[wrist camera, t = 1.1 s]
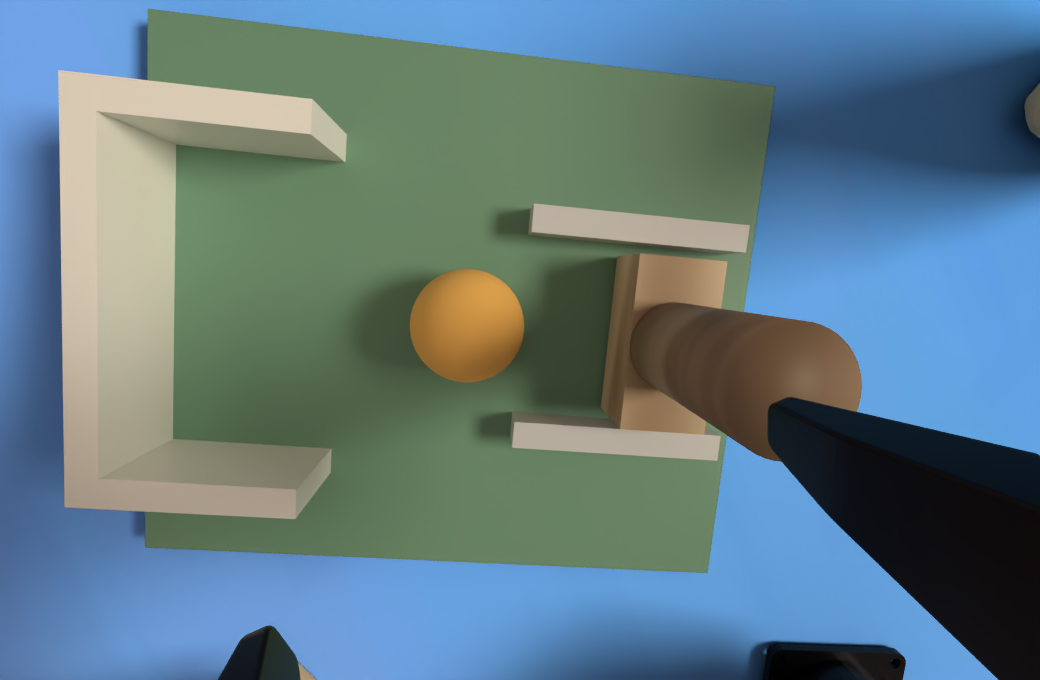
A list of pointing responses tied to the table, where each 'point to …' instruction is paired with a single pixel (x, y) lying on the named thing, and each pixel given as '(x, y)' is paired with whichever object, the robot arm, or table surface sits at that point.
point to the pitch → (423, 257)
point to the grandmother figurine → (305, 673)
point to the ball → (467, 325)
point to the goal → (157, 295)
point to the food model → (1033, 111)
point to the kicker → (711, 355)
